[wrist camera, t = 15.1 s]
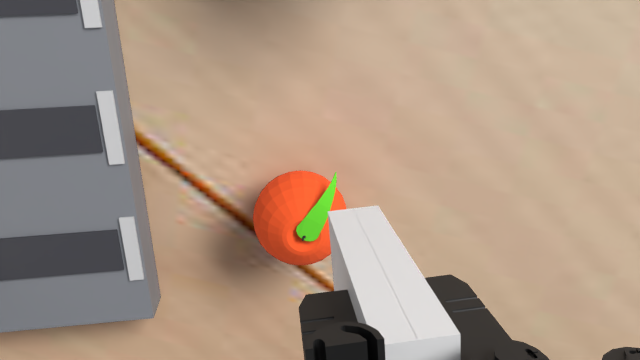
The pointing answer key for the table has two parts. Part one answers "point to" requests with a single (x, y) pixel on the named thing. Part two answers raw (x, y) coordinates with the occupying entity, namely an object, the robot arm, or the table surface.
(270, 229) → the clementine
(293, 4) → the table surface
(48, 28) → the switch panel
